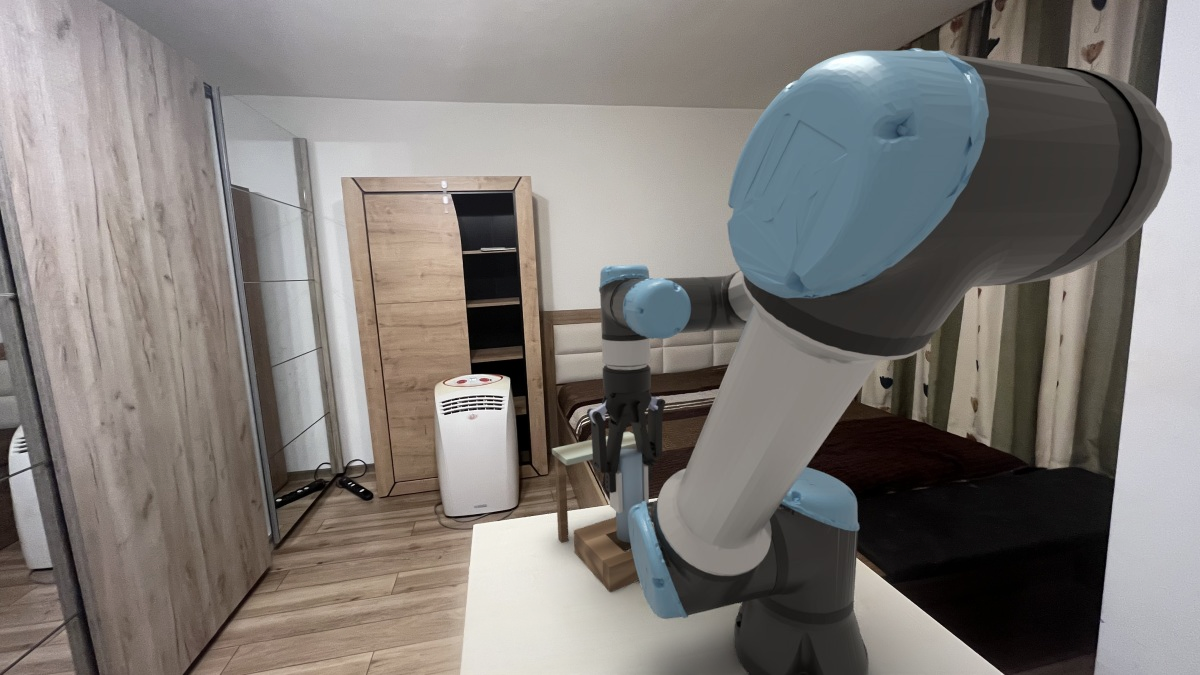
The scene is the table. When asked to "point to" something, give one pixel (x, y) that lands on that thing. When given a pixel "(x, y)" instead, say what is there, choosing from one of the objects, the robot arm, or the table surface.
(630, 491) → the peg
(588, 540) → the socket station
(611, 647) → the table surface
